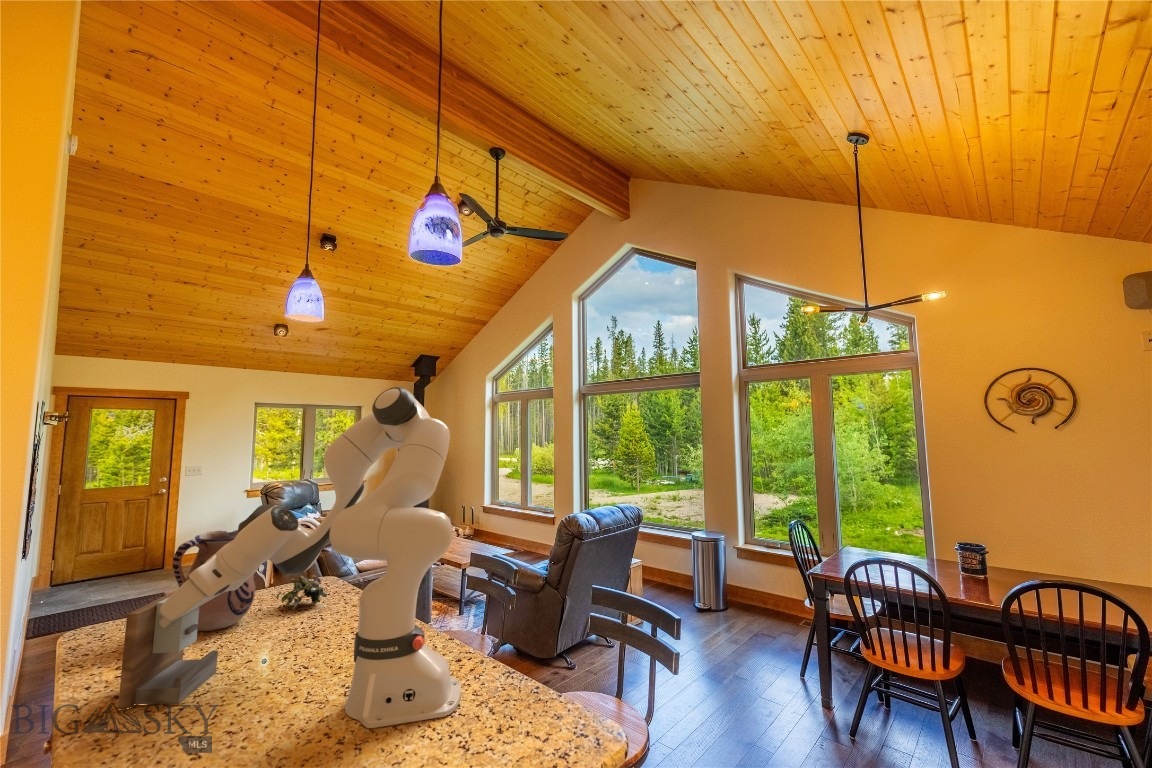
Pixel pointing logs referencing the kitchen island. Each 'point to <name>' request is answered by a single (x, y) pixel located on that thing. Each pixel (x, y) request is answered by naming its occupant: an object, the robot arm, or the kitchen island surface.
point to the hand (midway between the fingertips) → (174, 617)
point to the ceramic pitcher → (225, 605)
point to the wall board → (157, 665)
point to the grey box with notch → (175, 632)
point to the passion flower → (308, 587)
